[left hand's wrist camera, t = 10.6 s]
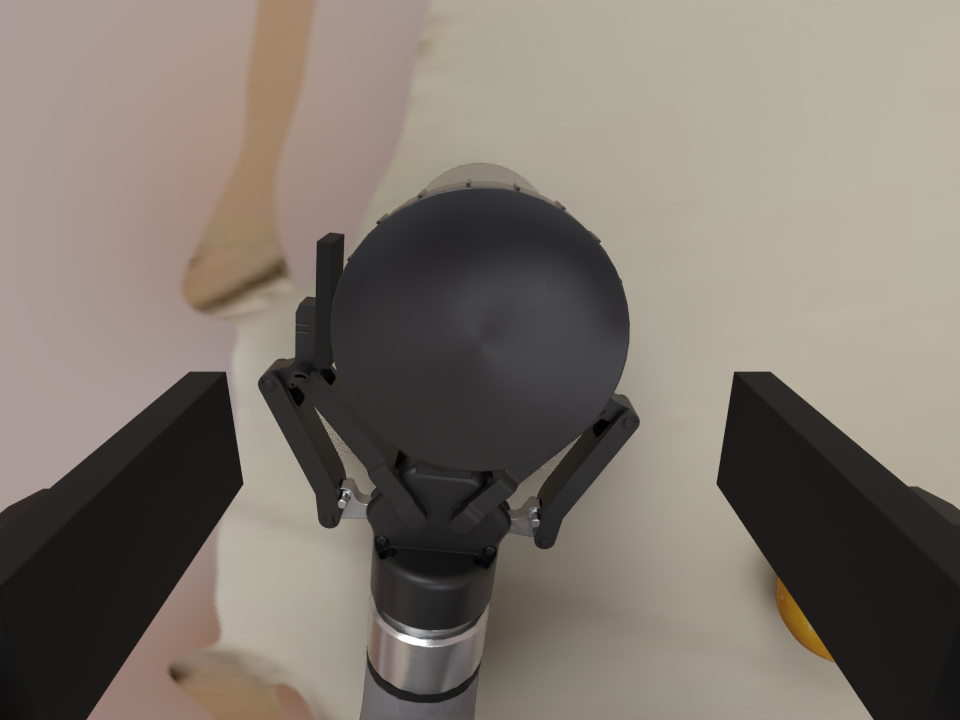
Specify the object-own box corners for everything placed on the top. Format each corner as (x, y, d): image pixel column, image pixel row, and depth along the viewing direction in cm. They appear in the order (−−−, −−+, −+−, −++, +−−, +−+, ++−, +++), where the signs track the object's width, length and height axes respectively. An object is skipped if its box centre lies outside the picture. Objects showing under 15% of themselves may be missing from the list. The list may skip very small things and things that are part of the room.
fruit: (791, 534, 40) (880, 659, 35) (885, 502, 43) (980, 614, 38) (733, 585, 46) (803, 698, 41) (819, 555, 49) (894, 657, 44)
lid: (545, 474, 23) (552, 509, 21) (310, 386, 22) (291, 414, 20) (664, 247, 20) (686, 262, 18) (399, 131, 19) (389, 131, 17)
